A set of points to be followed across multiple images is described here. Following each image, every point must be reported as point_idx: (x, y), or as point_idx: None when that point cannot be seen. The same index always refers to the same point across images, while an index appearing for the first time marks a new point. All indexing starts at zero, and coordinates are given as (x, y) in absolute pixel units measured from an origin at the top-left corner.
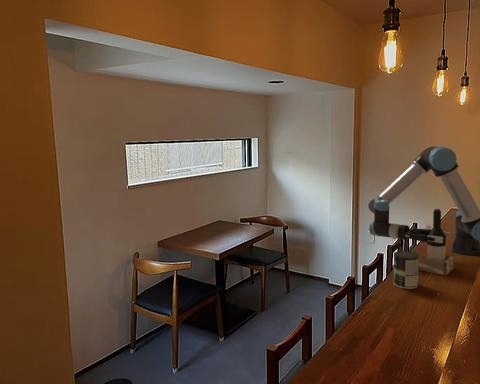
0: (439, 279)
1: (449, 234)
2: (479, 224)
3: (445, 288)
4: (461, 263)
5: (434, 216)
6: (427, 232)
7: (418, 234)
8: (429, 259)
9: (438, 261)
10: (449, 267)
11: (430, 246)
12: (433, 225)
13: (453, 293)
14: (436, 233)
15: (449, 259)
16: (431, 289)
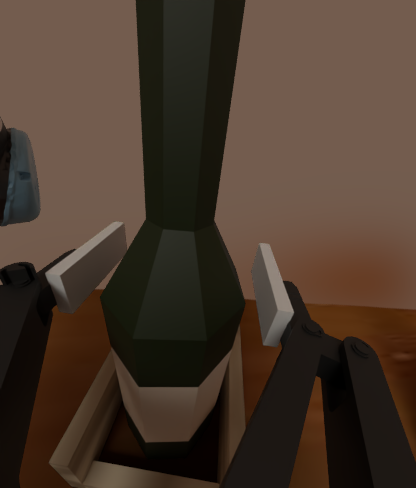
0: None
1: (121, 232)
2: (27, 153)
3: None
4: (70, 320)
5: (227, 60)
6: (24, 359)
7: (295, 452)
8: (233, 403)
9: (239, 353)
10: None
11: (224, 360)
12: (199, 204)
13: (354, 323)
14: (227, 253)
15: None
16: (397, 379)
